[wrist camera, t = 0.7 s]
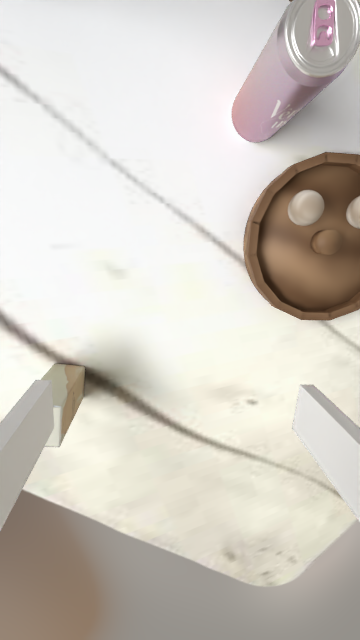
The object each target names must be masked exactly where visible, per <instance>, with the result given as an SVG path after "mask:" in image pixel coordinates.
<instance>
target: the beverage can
mask: <svg viewBox="0 0 360 640" xmlns="http://www.w3.org/2000/svg"><path fill="white" fill-rule="evenodd" d="M359 44H360V4H359V2H358V0H293V1H292V2H291V3H290V4H289V5H288V7H287V8H286V10H285V11H284V13H283V15H282V17H281V19H280V20H279V22H278V24H277V26H276V27H275V29H274V31H273V33H272V34H271V36H270V38H269V40H268V42H267V43H266V45H265V47H264V49H263V50H262V52H261V54H260V56H259V57H258V59H257V61H256V63H255V65H254V66H253V68H252V70H251V72H250V73H249V75H248V77H247V79H246V80H245V82H244V84H243V86H242V88H241V89H240V91H239V93H238V95H237V96H236V98H235V100H234V103H233V107H232V121H233V125H234V127H235V129H236V131H237V132H238V134H239V135H240V136H241V137H242V138H244V139H246V140H248V141H250V142H262V141H265V140H267V139H268V138H270V137H271V136H272V135H273V134H275V133H276V132H277V131H278V130H279V129H280V128H281V127H282V126H283V125H285V124H286V123H287V122H288V121H289V120H290V119H291V118H292V117H293V116H295V115H296V114H297V113H298V112H299V111H300V110H301V109H302V108H303V107H305V106H306V105H307V104H308V103H309V102H310V101H311V100H312V99H313V98H315V97H316V96H317V95H318V94H319V93H320V92H321V91H322V90H323V89H325V88H326V87H327V86H328V85H329V84H330V83H331V82H332V81H333V80H335V79H336V78H337V77H338V76H339V75H340V74H341V73H342V72H343V70H344V69H345V68H346V66H347V64H348V63H349V62H350V60H351V59H352V58H353V56H354V55H355V53H356V51H357V49H358V46H359Z"/></svg>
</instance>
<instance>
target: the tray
mask: <svg viewBox="0 0 360 640" xmlns="http://www.w3.org/2000/svg"><path fill="white" fill-rule="evenodd" d="M304 190H313V191H316V192H318V193H319V194H320V195H321V196H322V198H323V200H324V211H323V213H322V215H321V217H320V218H319V219H318V220H317V221H316V222H315V223H313V224H311V225H307V226H300V225H297V224H295V223H293V222H292V221H291V219H290V218H289V215H288V205H289V202H290V201H291V199H292V198H293V197H294V196H295V195H296V194H297V193H299V192H301V191H304ZM358 196H360V155H358V154H344V153H331V152H325V153H322V154H320V155H317V156H315V157H312V158H309V159H307V160H304V161H301V162H299V163H296V164H294V165H292V166H290V167H288V168H287V169H286V170H285V171H284V172H283V173H282V174H280V175H279V176H278V177H277V178H275V179H274V180H273V181H272V182H271V183H270V184H269V185H268V186H267V187H266V188H265V189H264V191H263V192H262V193H261V195H260V196H259V198H258V199H257V201H256V203H255V204H254V206H253V208H252V210H251V213H250V215H249V218H248V221H247V225H246V228H245V235H244V259H245V264H246V268H247V271H248V274H249V276H250V279H251V281H252V283H253V284H254V286H255V288H256V289H257V290H258V292H259V293H260V294H261V295H262V296H263V297H264V298H265V299H266V300H267V301H268V302H269V303H270V304H271V306H273V307H275V308H277V309H279V310H282V311H284V312H286V313H288V314H290V315H292V316H294V317H296V318H299V319H301V320H332V319H335V318H338V317H340V316H343V315H346V314H348V313H351V312H354V311H356V310H358V309H360V229H358V228H355V227H353V226H352V225H350V224H349V222H348V221H347V218H346V211H347V208H348V206H349V204H350V203H351V202H352V201H353V200H354V199H355V198H356V197H358Z"/></svg>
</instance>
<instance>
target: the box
mask: <svg viewBox="0 0 360 640" xmlns="http://www.w3.org/2000/svg"><path fill="white" fill-rule="evenodd" d="M84 379H85V367H84V366H77V365H67V364H54V365H53V366H52V367H51V368H50V370H49V371H48V372H47V373H46V374H45V375H44V376H43V378H42V379H41V380H52V397H53V415H54V429H53V431H52V433H51V435H50V437H49V439H48V441H47V443H46V444H45V446H44V447H60V445H61V443H62V441H63V439H64V436H65V434H66V432H67V430H68V428H69V426H70V424H71V422H72V420H73V418H74V416H75V414H76V412H77V409H78V408H79V405H80V403H81V401H82V399H83V395H84Z"/></svg>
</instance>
